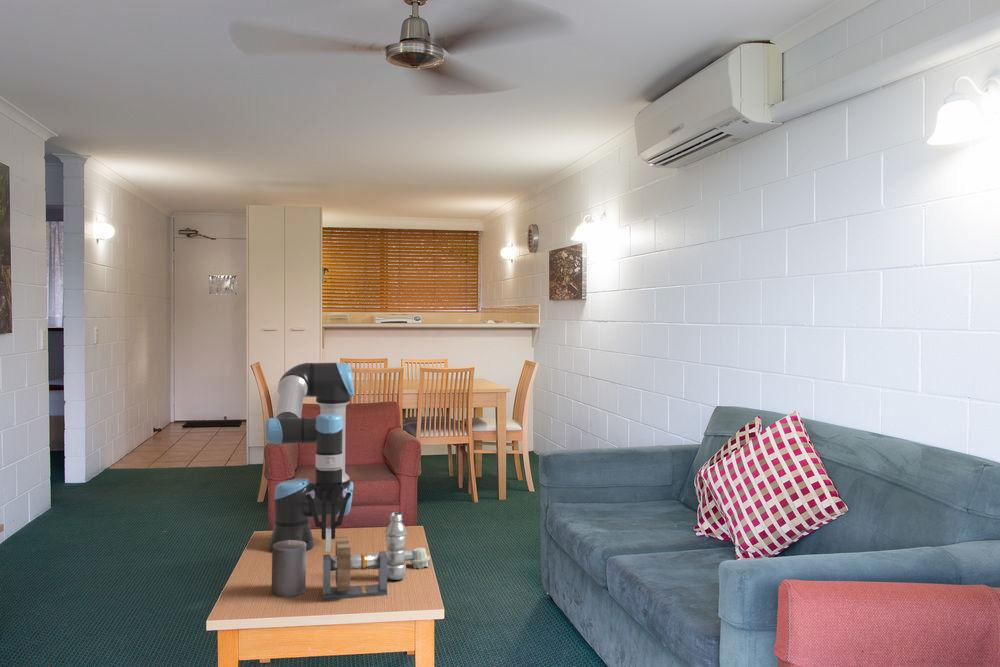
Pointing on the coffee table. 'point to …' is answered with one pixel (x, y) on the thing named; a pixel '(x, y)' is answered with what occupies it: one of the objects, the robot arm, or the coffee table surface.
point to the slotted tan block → (342, 564)
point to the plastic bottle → (396, 547)
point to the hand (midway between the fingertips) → (328, 550)
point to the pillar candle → (288, 568)
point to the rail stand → (355, 563)
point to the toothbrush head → (417, 557)
